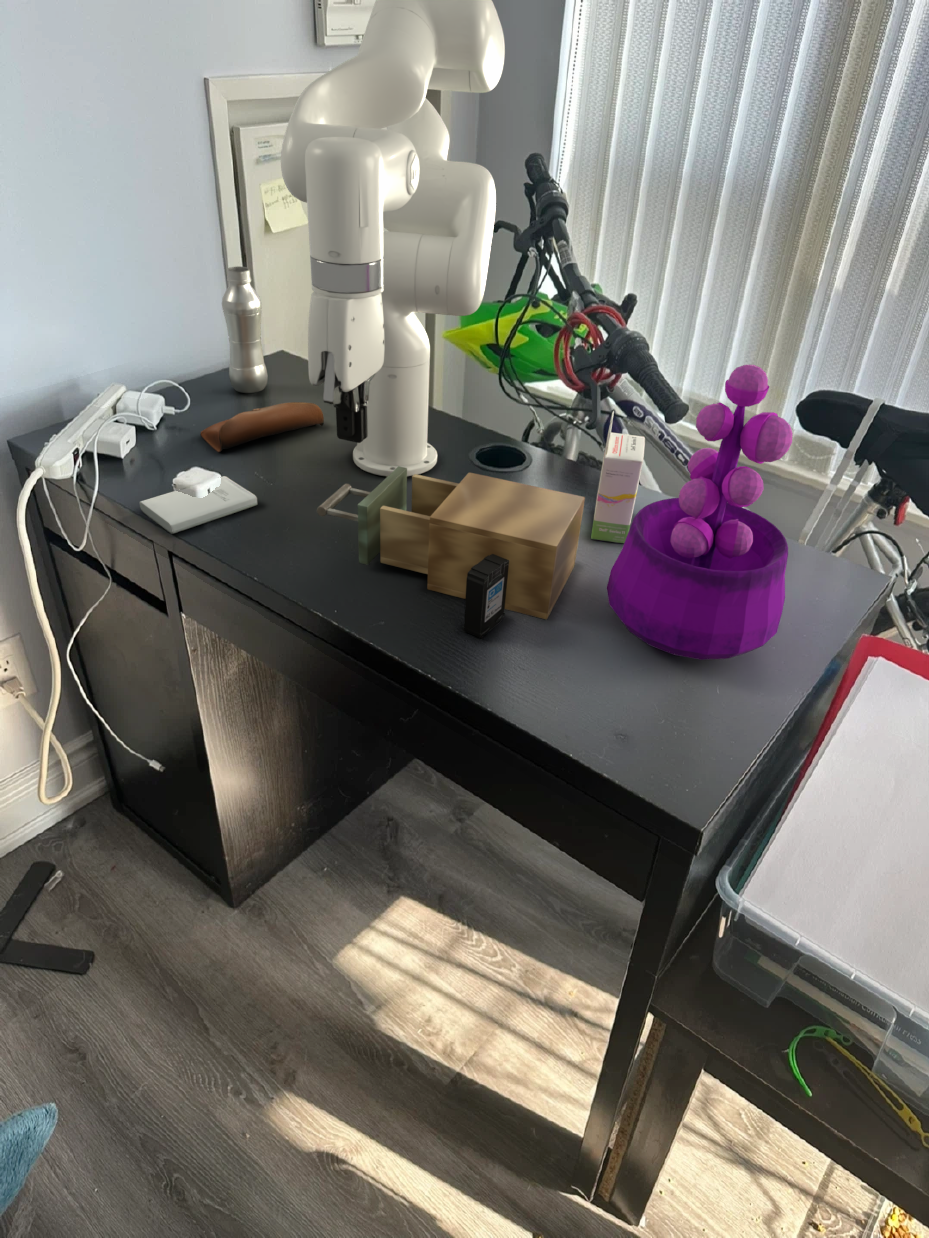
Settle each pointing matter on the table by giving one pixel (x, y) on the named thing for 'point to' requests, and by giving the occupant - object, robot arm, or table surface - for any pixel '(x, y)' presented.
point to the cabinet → (506, 539)
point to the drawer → (394, 518)
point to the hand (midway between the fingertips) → (352, 438)
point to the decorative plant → (710, 542)
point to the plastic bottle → (244, 332)
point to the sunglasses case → (262, 424)
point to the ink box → (618, 486)
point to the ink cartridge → (485, 595)
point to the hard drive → (197, 506)
